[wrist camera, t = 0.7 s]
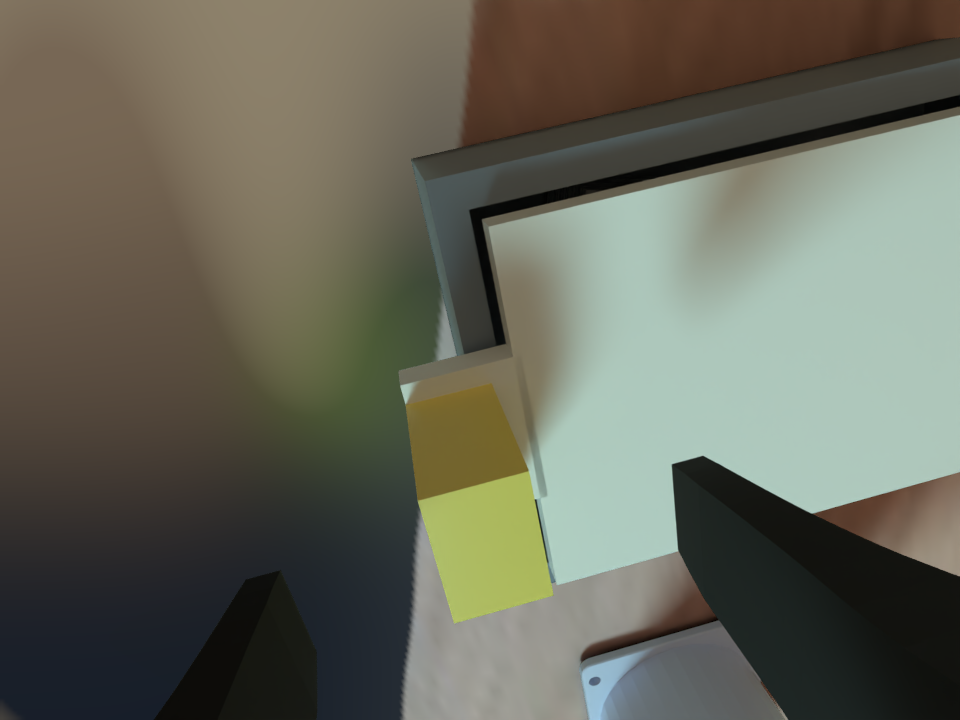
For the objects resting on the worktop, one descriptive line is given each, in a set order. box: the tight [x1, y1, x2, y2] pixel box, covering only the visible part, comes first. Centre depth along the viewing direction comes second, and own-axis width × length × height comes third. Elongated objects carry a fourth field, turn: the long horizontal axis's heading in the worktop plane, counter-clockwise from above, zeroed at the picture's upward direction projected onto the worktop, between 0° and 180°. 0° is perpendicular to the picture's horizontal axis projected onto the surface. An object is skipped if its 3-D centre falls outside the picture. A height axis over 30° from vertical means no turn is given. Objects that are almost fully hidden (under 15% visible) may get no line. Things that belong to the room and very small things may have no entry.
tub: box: [411, 38, 960, 583], centre depth 18 cm, size 12×16×4 cm
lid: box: [399, 107, 960, 623], centre depth 14 cm, size 10×17×4 cm, turn 101°
